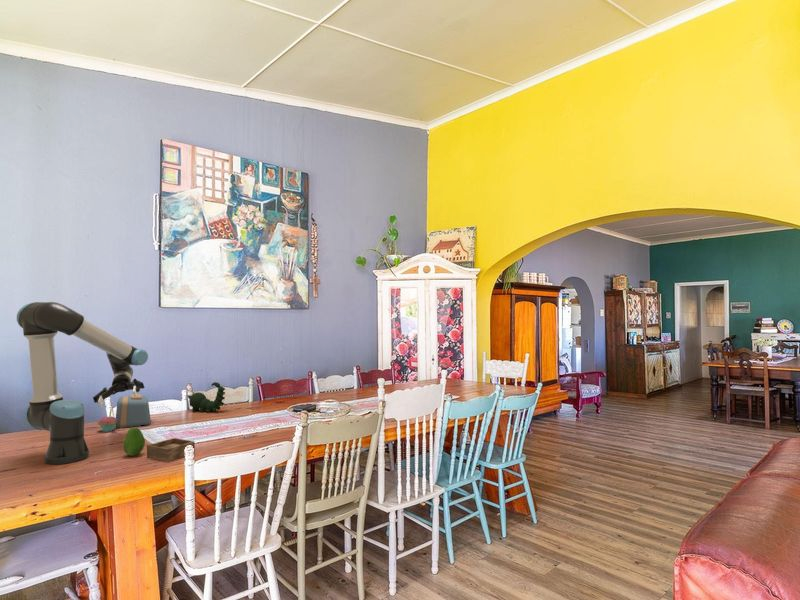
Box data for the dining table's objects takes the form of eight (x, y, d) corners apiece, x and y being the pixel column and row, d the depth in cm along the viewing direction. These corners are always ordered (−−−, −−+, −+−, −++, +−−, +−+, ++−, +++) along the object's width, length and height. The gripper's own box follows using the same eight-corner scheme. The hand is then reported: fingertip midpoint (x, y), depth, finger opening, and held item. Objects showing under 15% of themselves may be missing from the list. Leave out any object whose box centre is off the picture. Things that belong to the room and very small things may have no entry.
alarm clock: (116, 423, 268) (116, 393, 268) (150, 419, 276) (150, 391, 276) (115, 429, 254) (115, 398, 254) (150, 425, 261) (151, 395, 262)
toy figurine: (226, 413, 298) (191, 407, 304) (228, 382, 297) (193, 377, 304) (216, 417, 289) (180, 411, 295) (219, 384, 288) (183, 379, 295)
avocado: (124, 459, 203) (124, 429, 203) (122, 454, 209) (122, 426, 209) (146, 455, 207) (146, 427, 208) (143, 451, 214) (143, 423, 214)
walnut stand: (167, 461, 199) (167, 449, 199) (146, 457, 205) (146, 445, 205) (194, 453, 210) (194, 441, 210) (174, 449, 217) (174, 437, 217)
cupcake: (121, 428, 254) (121, 405, 255) (109, 433, 246) (110, 408, 246) (105, 428, 255) (105, 405, 255) (93, 432, 247) (93, 408, 247)
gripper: (152, 380, 237) (151, 397, 219) (94, 397, 229) (88, 416, 210) (148, 366, 235) (146, 382, 216) (89, 383, 226) (81, 401, 208)
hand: (117, 399), depth 213 cm, fingers open, 13 cm apart
